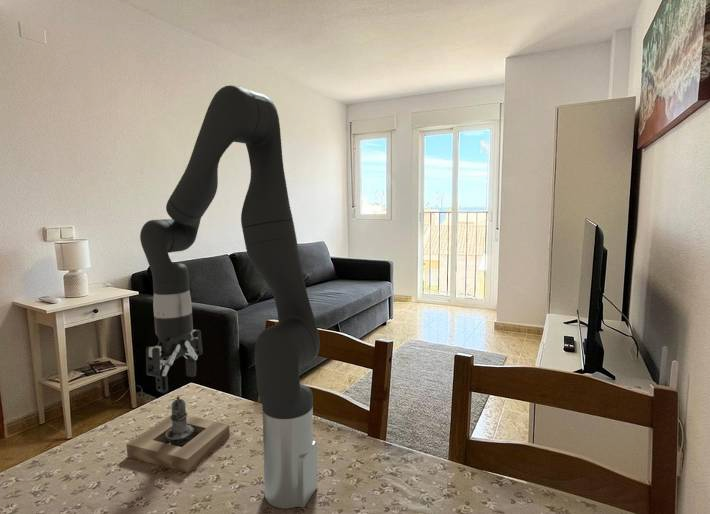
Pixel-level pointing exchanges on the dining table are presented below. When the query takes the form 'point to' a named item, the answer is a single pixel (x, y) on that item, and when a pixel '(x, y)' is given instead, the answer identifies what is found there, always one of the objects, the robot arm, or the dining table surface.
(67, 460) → the dining table surface
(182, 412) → the grey tall tiered piece
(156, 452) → the tan picture frame
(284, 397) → the robot arm
